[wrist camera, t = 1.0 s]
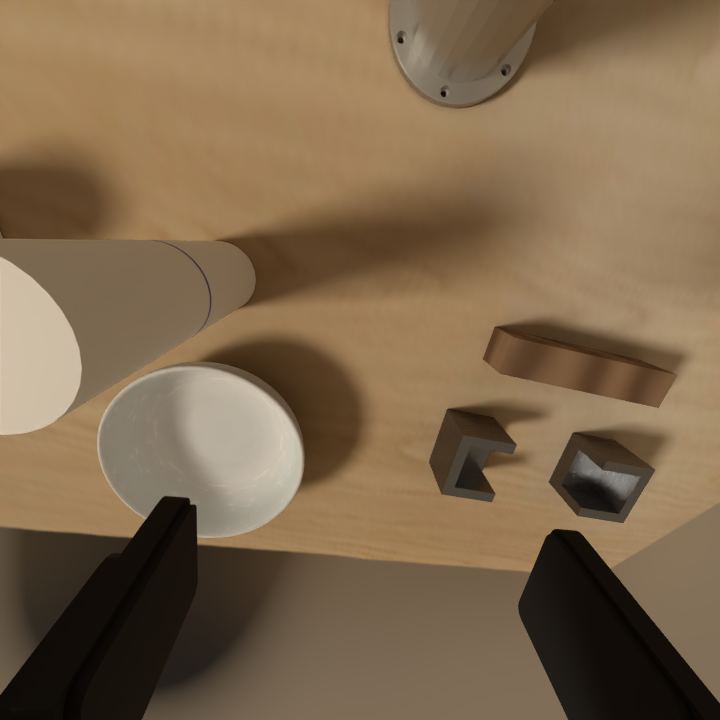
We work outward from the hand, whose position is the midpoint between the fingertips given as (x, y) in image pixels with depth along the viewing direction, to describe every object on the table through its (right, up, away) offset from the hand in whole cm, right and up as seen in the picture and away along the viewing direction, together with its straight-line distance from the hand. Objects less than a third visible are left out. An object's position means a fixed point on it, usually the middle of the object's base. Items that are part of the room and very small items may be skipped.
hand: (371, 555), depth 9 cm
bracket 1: (+13, -5, +34) cm, 37 cm away
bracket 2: (+29, -8, +36) cm, 47 cm away
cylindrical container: (-15, +14, +27) cm, 34 cm away
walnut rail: (+24, +5, +31) cm, 40 cm away
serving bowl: (-17, -3, +33) cm, 37 cm away
